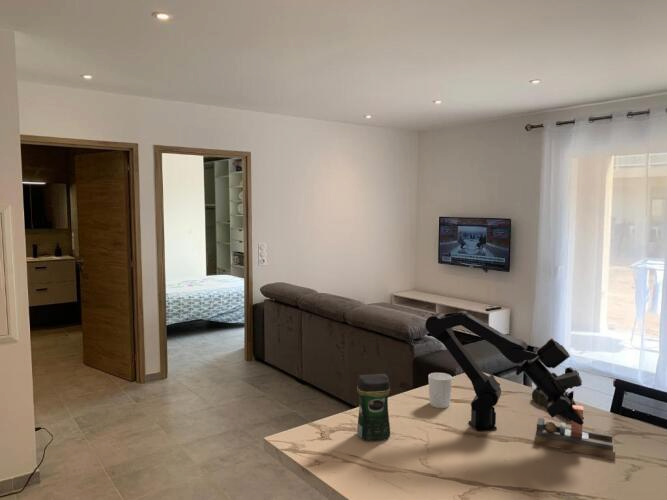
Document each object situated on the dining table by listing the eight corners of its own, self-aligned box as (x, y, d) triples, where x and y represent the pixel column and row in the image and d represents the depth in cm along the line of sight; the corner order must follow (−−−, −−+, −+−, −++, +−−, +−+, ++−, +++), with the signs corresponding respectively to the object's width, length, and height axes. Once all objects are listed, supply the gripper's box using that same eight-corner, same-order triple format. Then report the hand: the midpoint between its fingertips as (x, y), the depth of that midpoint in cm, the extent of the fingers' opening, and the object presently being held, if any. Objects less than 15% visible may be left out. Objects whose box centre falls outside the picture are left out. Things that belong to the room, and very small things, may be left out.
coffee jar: (385, 429, 151) (386, 369, 149) (392, 441, 143) (393, 378, 141) (354, 431, 149) (355, 371, 148) (359, 443, 141) (360, 380, 140)
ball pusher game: (534, 443, 142) (535, 426, 141) (537, 431, 149) (538, 415, 149) (614, 459, 132) (615, 441, 132) (613, 445, 140) (614, 428, 140)
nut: (548, 436, 142) (549, 425, 141) (541, 431, 145) (542, 420, 145) (558, 435, 142) (559, 424, 142) (551, 430, 145) (552, 419, 145)
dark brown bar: (578, 420, 158) (579, 406, 157) (568, 422, 157) (568, 407, 156) (538, 399, 176) (539, 386, 176) (529, 400, 175) (529, 387, 174)
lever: (559, 437, 140) (560, 407, 140) (560, 431, 144) (561, 402, 144) (588, 442, 137) (589, 412, 136) (588, 436, 141) (589, 406, 140)
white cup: (453, 409, 166) (454, 380, 165) (430, 409, 166) (430, 380, 165) (448, 400, 174) (449, 372, 173) (426, 400, 174) (426, 372, 173)
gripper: (562, 370, 132) (607, 418, 128) (565, 352, 149) (605, 395, 145) (529, 393, 137) (572, 441, 132) (536, 374, 153) (575, 415, 149)
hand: (582, 421), depth 139 cm, fingers closed on lever, 3 cm apart
